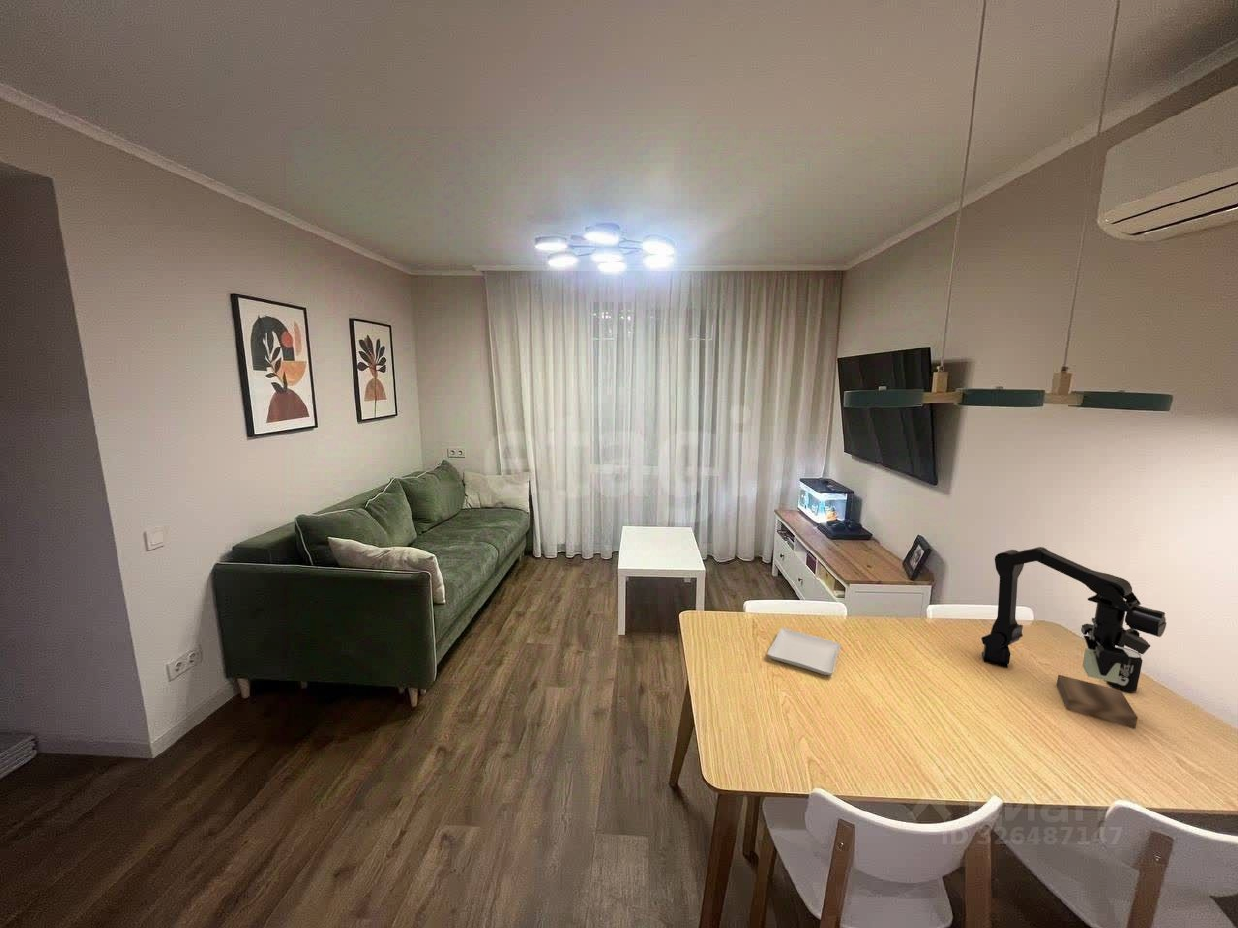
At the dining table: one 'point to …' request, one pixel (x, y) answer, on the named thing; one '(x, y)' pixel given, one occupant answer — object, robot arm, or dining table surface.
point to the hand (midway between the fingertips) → (1099, 669)
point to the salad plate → (805, 651)
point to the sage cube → (1093, 670)
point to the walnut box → (1096, 701)
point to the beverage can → (1129, 672)
